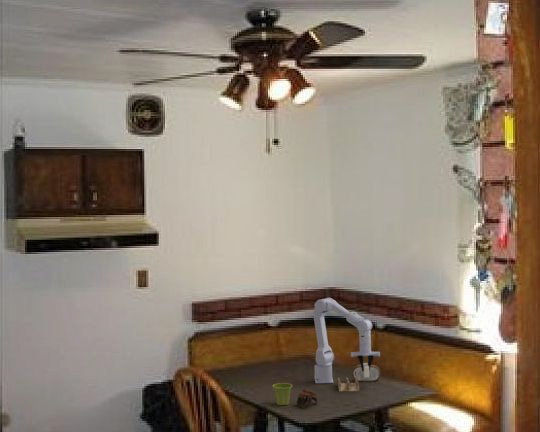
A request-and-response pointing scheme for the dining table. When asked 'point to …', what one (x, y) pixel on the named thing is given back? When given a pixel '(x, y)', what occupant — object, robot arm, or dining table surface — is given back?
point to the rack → (348, 385)
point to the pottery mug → (308, 399)
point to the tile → (365, 370)
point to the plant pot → (282, 393)
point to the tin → (373, 373)
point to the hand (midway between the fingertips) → (365, 370)
